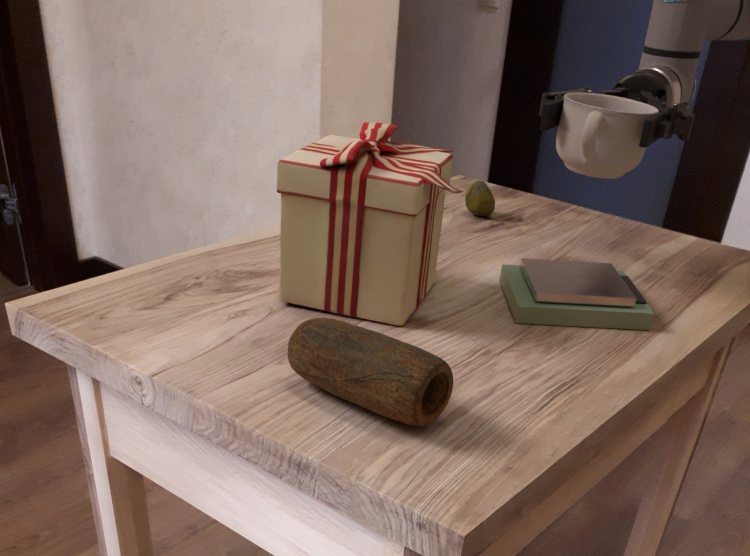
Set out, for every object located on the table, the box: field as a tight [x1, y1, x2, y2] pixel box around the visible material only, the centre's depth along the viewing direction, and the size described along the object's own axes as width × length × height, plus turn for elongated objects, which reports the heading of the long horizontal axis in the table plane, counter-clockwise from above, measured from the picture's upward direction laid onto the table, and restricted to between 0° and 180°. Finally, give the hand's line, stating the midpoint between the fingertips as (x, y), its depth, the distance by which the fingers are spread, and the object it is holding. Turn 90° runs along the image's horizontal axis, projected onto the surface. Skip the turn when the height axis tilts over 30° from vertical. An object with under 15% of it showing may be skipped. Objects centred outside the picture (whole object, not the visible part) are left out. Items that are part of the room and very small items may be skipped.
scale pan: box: [519, 257, 637, 307], centre depth 91 cm, size 11×11×1 cm
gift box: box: [276, 121, 464, 327], centre depth 87 cm, size 17×18×17 cm
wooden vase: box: [287, 317, 454, 427], centre depth 69 cm, size 15×7×7 cm, turn 55°
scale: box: [499, 264, 655, 331], centre depth 92 cm, size 15×13×2 cm
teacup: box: [555, 92, 659, 180], centre depth 92 cm, size 14×11×8 cm
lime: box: [464, 179, 496, 217], centre depth 117 cm, size 4×5×5 cm
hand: (593, 125), depth 88 cm, fingers closed on teacup, 11 cm apart
